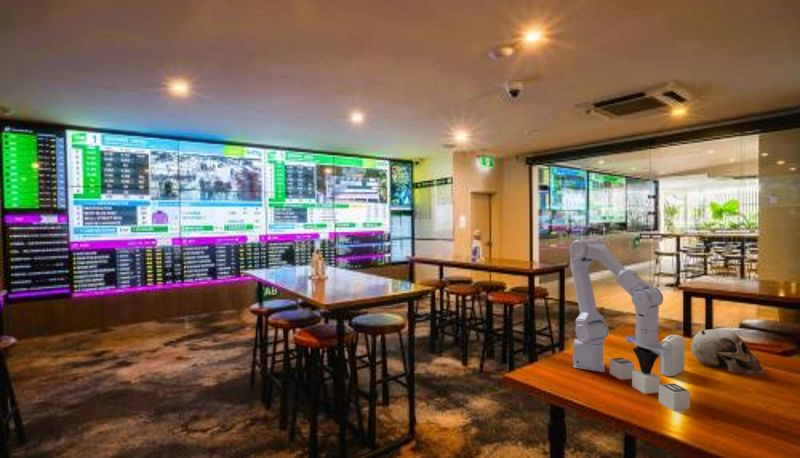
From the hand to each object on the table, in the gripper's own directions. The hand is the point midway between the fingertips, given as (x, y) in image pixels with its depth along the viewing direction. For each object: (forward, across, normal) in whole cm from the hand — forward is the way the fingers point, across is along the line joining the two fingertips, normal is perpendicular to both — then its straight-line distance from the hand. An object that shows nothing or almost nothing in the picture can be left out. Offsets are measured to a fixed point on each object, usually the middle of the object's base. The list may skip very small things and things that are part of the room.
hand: (646, 372), depth 120 cm
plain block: (+5, 0, 0) cm, 5 cm away
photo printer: (+5, +9, -18) cm, 21 cm away
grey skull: (+5, +10, -40) cm, 42 cm away
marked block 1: (+5, +10, 0) cm, 11 cm away
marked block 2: (+5, -10, 0) cm, 11 cm away
